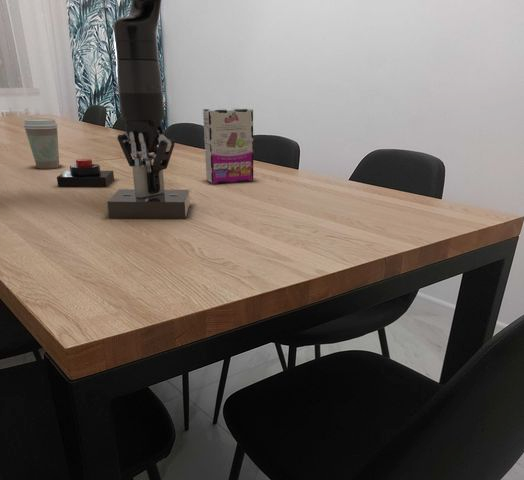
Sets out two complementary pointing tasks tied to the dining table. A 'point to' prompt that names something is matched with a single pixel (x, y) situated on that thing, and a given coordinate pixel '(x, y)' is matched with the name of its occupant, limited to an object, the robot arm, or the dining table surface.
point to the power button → (84, 162)
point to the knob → (144, 181)
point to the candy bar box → (228, 144)
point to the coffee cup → (43, 142)
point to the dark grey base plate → (149, 204)
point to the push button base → (85, 177)
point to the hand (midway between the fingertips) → (150, 191)
